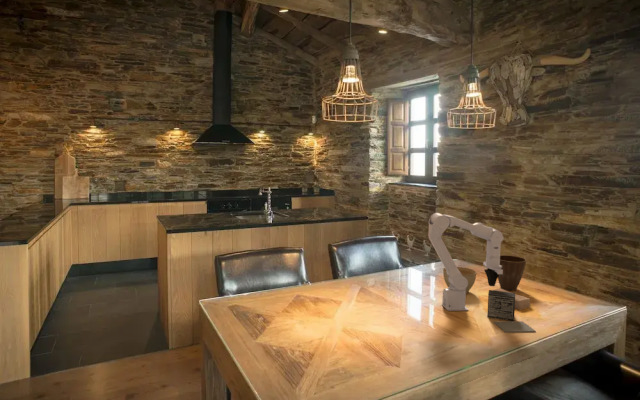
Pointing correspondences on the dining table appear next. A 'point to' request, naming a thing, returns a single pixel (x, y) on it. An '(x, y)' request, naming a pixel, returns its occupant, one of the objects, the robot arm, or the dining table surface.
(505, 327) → the mat
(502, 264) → the plant pot
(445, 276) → the planter bowl
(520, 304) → the brick
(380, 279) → the dining table surface
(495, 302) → the small box
